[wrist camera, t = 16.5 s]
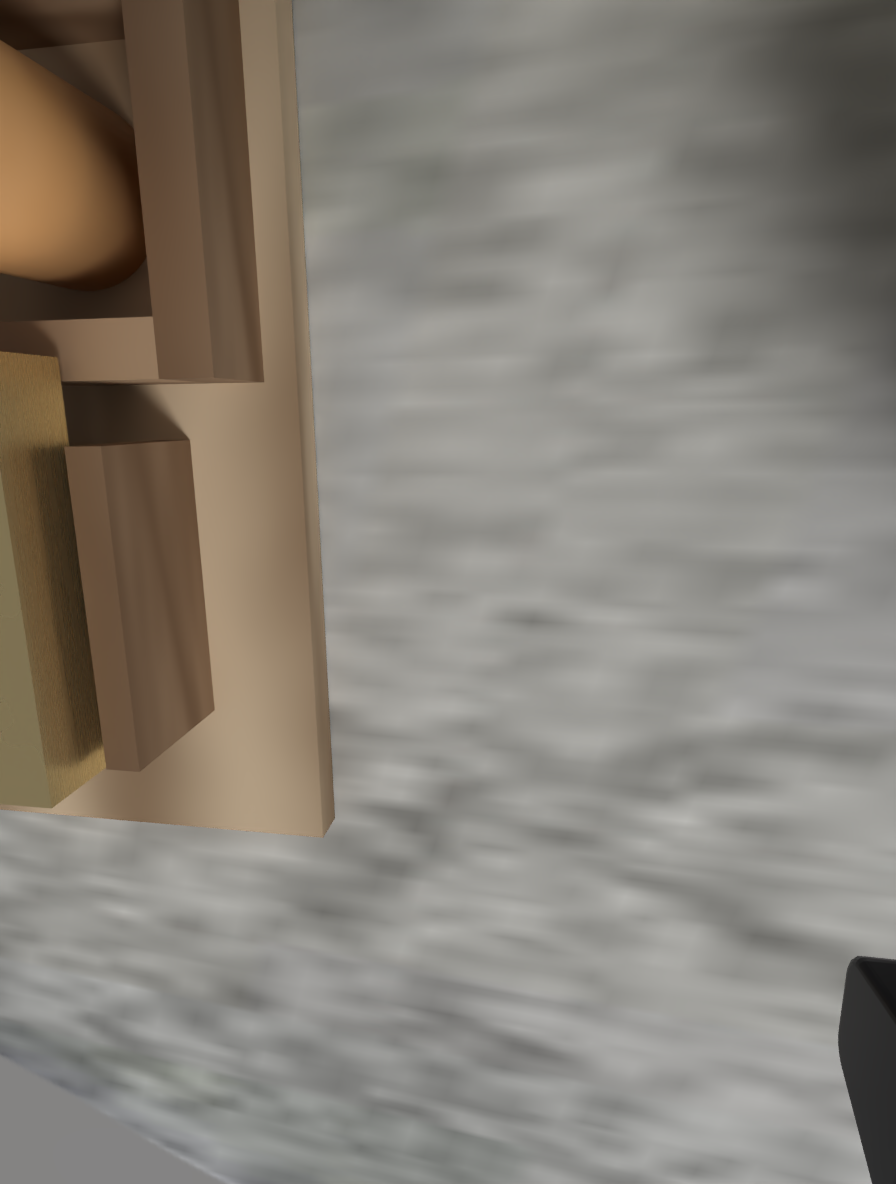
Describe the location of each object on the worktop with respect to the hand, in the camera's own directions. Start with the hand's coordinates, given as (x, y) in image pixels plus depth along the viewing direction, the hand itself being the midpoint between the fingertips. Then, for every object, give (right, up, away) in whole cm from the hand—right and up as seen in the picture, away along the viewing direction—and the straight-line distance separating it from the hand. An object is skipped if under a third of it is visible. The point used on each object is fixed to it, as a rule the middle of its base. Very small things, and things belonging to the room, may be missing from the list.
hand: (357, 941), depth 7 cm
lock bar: (-8, +4, +9) cm, 13 cm away
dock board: (-7, +9, +12) cm, 16 cm away
